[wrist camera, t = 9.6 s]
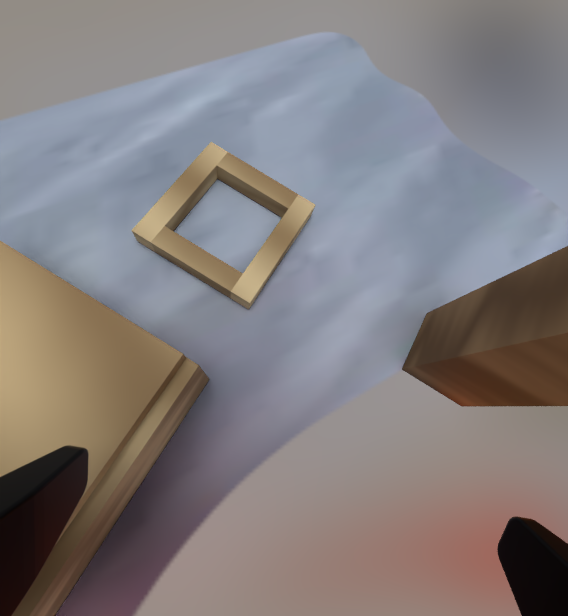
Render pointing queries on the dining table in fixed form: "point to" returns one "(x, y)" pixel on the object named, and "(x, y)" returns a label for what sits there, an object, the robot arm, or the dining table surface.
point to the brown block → (500, 340)
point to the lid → (70, 371)
